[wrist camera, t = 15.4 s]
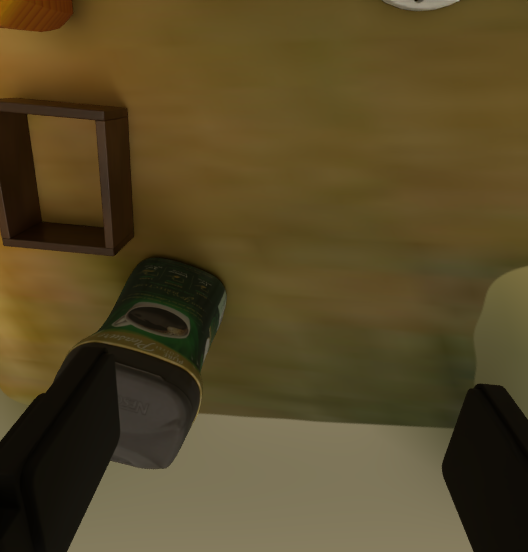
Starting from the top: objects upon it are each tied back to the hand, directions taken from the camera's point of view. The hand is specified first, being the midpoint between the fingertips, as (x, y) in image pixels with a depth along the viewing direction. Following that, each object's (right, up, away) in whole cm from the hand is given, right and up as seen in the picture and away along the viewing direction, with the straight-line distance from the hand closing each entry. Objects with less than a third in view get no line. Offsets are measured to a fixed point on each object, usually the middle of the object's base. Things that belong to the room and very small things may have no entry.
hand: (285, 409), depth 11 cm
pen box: (-17, +13, +26) cm, 34 cm away
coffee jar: (-9, +2, +31) cm, 32 cm away
